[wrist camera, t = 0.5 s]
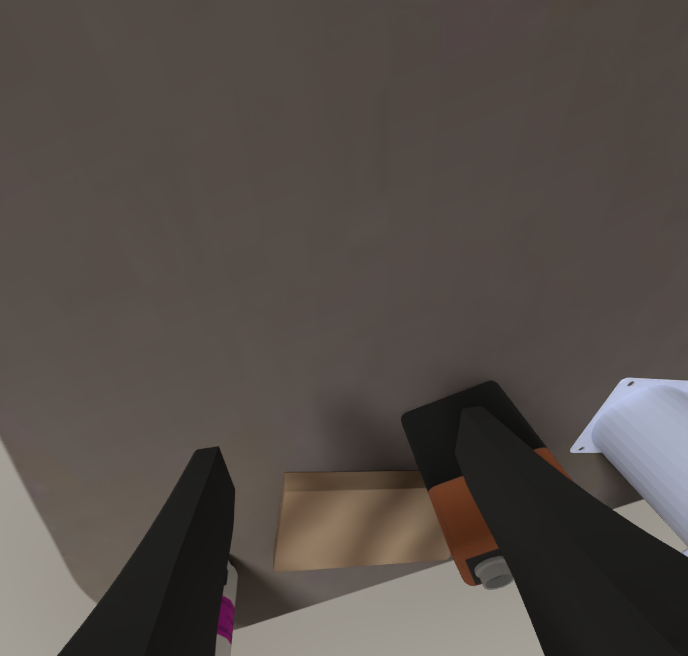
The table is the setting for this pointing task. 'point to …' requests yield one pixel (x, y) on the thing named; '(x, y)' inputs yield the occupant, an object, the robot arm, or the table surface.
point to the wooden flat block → (355, 521)
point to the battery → (449, 484)
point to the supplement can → (227, 613)
